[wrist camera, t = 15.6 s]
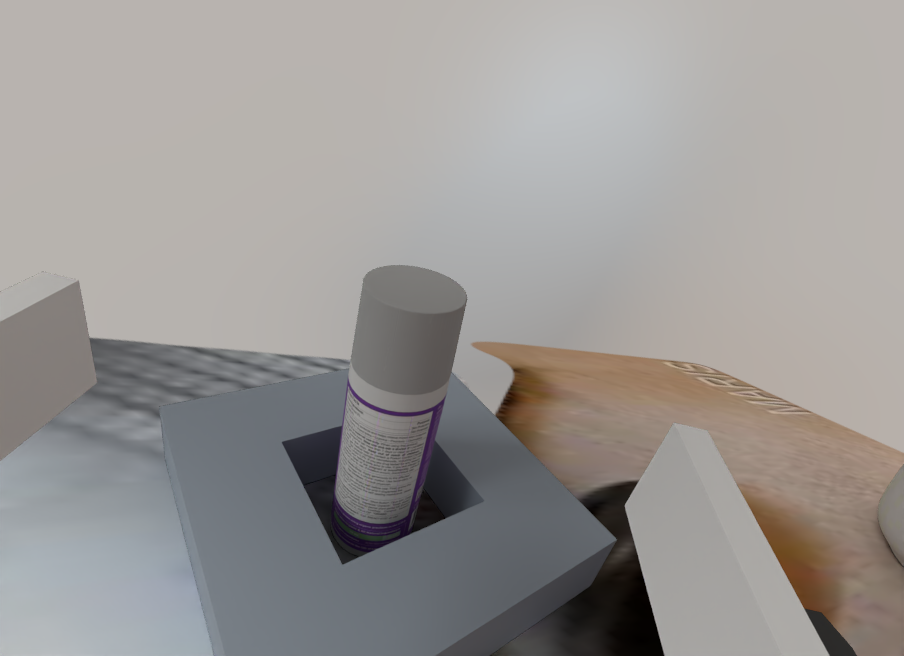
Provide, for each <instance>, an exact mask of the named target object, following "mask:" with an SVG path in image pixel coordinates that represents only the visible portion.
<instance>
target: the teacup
mask: <svg viewBox="0 0 904 656" xmlns="http://www.w3.org/2000/svg"><path fill="white" fill-rule="evenodd" d="M878 521H879V525H880V528H881V530H882V532H883V534H884V536H885V538H886V540H887V541H888V543H889V545H890V547H891V550H892V551H893V553H894V555H895V556H896V558H897V559H898V560H899V562H900V563H901V564H902V566H903V567H904V464H903V466H902V467H901V468H900V470H899V471H898V472H897V474H896V475H895V477H894V478H893V480H892V481H891V483H890V484H889V486H888V487H887V489H886V490H885V492H884V494H883V496H882V498H881V500H880V502H879V506H878Z"/></svg>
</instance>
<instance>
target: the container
mask: <svg viewBox="0 0 904 656" xmlns="http://www.w3.org/2000/svg"><path fill="white" fill-rule="evenodd" d="M466 302H467V295H466V292H465V290H464V289H463V288H462V287H461V286H460V285H459V284H458V283H457V282H455V281H454V280H452V279H451V278H449V277H447V276H445V275H442V274H440V273H438V272H435V271H432V270H429V269H424V268H420V267H414V266H405V265H391V266H384V267H379V268H376V269H373V270H372V271H370V272H368V273H367V274H366V275H365V277H364V279H363V286H362V292H361V299H360V305H359V311H358V317H357V324H356V330H355V336H354V343H353V349H352V355H351V362H350V368H349V374H348V382H347V390H346V398H345V406H344V414H343V422H342V430H341V438H340V447H339V455H338V463H337V471H336V479H335V487H334V495H333V503H332V511H331V530H332V534H333V536H334V538H335V540H336V541H337V542H338V544H339V545H340V546H341V547H342V548H343V549H345V550H346V551H348V552H349V553H351V554H354V555H356V556H359V557H361V556H363V555H365V554H367V553H370V552H372V551H374V550H376V549H379V548H381V547H383V546H385V545H388V544H390V543H392V542H394V541H397V540H399V539H401V538H403V537H405V536H408V535H410V534H411V532H412V528H413V525H414V521H415V517H416V513H417V509H418V505H419V501H420V497H421V493H422V489H423V485H424V481H425V477H426V473H427V469H428V465H429V461H430V458H431V454H432V450H433V446H434V442H435V438H436V434H437V430H438V426H439V422H440V418H441V414H442V410H443V406H444V402H445V398H446V394H447V390H448V385H449V380H450V375H451V371H452V366H453V362H454V357H455V353H456V348H457V343H458V339H459V334H460V330H461V325H462V320H463V316H464V311H465V306H466Z"/></svg>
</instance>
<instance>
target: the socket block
mask: <svg viewBox="0 0 904 656" xmlns="http://www.w3.org/2000/svg"><path fill="white" fill-rule="evenodd" d="M348 374H349V369H344V370H339V371H334V372H329V373H324V374H319V375H314V376H309V377H304V378H299V379H294V380H289V381H284V382H279V383H274V384H269V385H264V386H259V387H254V388H249V389H244V390H239V391H234V392H229V393H224V394H219V395H214V396H209V397H204V398H199V399H194V400H189V401H184V402H179V403H174V404H169V405H163V406H159V409H160V418H161V427H162V436H163V445H164V453H165V461H166V465H167V469H168V473H169V477H170V481H171V485H172V489H173V493H174V497H175V501H176V505H177V509H178V513H179V517H180V521H181V525H182V529H183V533H184V537H185V541H186V545H187V549H188V553H189V557H190V561H191V565H192V569H193V573H194V577H195V580H196V584H197V588H198V592H199V596H200V600H201V604H202V608H203V612H204V616H205V620H206V624H207V628H208V632H209V636H210V640H211V644H212V648H213V652H214V656H490V655H491V654H493V653H494V652H496V651H497V650H498V649H500V648H501V647H503V646H504V645H506V644H507V643H509V642H510V641H511V640H513V639H514V638H516V637H517V636H519V635H520V634H522V633H523V632H524V631H526V630H527V629H529V628H530V627H532V626H533V625H535V624H536V623H537V622H539V621H540V620H542V619H543V618H545V617H546V616H548V615H549V614H550V613H552V612H553V611H555V610H556V609H558V608H559V607H561V606H562V605H563V604H565V603H566V602H568V601H569V600H571V599H572V598H574V597H575V596H576V595H578V594H579V593H581V592H582V591H584V590H585V589H587V588H588V587H590V586H591V584H592V582H593V581H594V579H595V577H596V576H597V574H598V572H599V570H600V569H601V567H602V565H603V563H604V562H605V560H606V558H607V556H608V555H609V553H610V551H611V549H612V548H613V546H614V544H615V542H616V541H617V539H616V538H615V537H614V536H613V535H612V534H611V533H610V532H609V531H608V530H607V529H606V528H605V527H604V526H603V525H602V524H601V523H600V522H599V521H598V520H597V519H596V518H595V517H594V516H593V515H592V514H591V513H590V512H589V511H588V510H587V509H586V508H585V507H584V506H583V505H582V504H581V503H580V502H579V501H578V500H577V498H576V497H575V496H574V495H573V494H572V493H571V492H570V491H569V490H568V489H567V488H566V487H565V486H564V485H563V484H562V483H561V482H560V481H559V480H558V479H557V478H556V477H555V476H554V475H553V474H552V473H551V472H550V471H549V470H548V469H547V468H546V467H545V466H544V465H543V464H542V463H541V462H540V461H539V460H538V459H537V458H536V457H535V456H534V455H533V454H532V453H531V452H530V451H529V450H528V449H527V448H526V447H525V446H524V445H523V444H522V443H521V442H520V441H519V440H518V439H517V438H516V437H515V436H514V435H513V434H512V433H511V432H510V431H509V430H508V429H507V428H506V427H505V426H504V424H503V423H502V422H501V421H500V420H499V419H498V418H497V417H496V416H495V415H494V414H493V413H492V412H491V411H490V410H489V409H488V408H487V407H486V406H485V405H484V404H483V403H482V402H481V401H480V400H479V399H478V398H477V397H476V396H475V395H474V394H473V393H472V392H471V391H470V390H469V389H468V388H467V387H466V386H465V385H464V384H463V383H462V382H461V381H460V380H459V379H458V378H457V377H456V376H455V375H454V374H453V373H452V372H451V375H450V380H449V385H448V390H447V394H446V398H445V402H444V406H443V410H442V414H441V418H440V422H439V426H438V430H437V434H436V438H435V442H434V446H433V450H432V454H431V458H430V461H429V465H428V469H427V473H426V477H425V481H424V485H423V487H424V489H425V490H426V492H427V493H428V494H429V496H430V497H431V499H432V500H433V501H434V503H435V504H436V505H437V507H438V508H439V510H440V511H441V512H442V514H443V515H444V517H445V518H446V519H444V520H441V521H439V522H437V523H435V524H432V525H430V526H428V527H426V528H423V529H421V530H419V531H417V532H414V533H412V534H410V535H408V536H405V537H403V538H401V539H399V540H397V541H394V542H392V543H390V544H388V545H385V546H383V547H381V548H379V549H376V550H374V551H372V552H370V553H367V554H365V555H363V556H361V557H358V558H356V559H354V560H352V561H350V562H347V563H345V564H343V565H342V563H341V561H340V559H339V557H338V555H337V553H336V551H335V549H334V547H333V545H332V543H331V541H330V539H329V537H328V535H327V533H326V531H325V529H324V527H323V525H322V523H321V521H320V519H319V517H318V515H317V513H316V511H315V509H314V507H313V505H312V503H311V501H310V499H309V496H308V494H307V492H306V490H305V488H304V486H303V485H305V484H308V483H311V482H314V481H317V480H320V479H323V478H326V477H329V476H332V475H335V474H336V471H337V463H338V455H339V447H340V438H341V430H342V422H343V414H344V406H345V398H346V390H347V382H348Z"/></svg>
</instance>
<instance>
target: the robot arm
mask: <svg viewBox="0 0 904 656" xmlns="http://www.w3.org/2000/svg"><path fill="white" fill-rule="evenodd" d="M96 383H97V378H96V372H95V367H94V361H93V356H92V350H91V345H90V339H89V334H88V328H87V323H86V318H85V312H84V307H83V301H82V296H81V290H80V285H79V281H78V280H76V279H72V278H67V277H63V276H59V275H55V274H51V273H47V272H41V273H38V274H36V275H34V276H32V277H30V278H28V279H26V280H24V281H22V282H19V283H17V284H15V285H13V286H11V287H9V288H7V289H5V290H2V291H0V461H1V460H2V459H3V458H5V457H6V456H7V455H8V454H10V453H11V452H12V451H13V450H14V449H16V448H17V447H18V446H19V445H21V444H22V443H23V442H24V441H26V440H27V439H28V438H29V437H31V436H32V435H33V434H34V433H36V432H37V431H38V430H39V429H41V428H42V427H43V426H44V425H45V424H47V423H48V422H49V421H50V420H52V419H53V418H54V417H55V416H57V415H58V414H59V413H60V412H62V411H63V410H64V409H65V408H67V407H68V406H69V405H70V404H71V403H73V402H74V401H75V400H76V399H78V398H79V397H80V396H81V395H83V394H84V393H85V392H86V391H88V390H89V389H90V388H91V387H93V386H94V385H95V384H96ZM625 509H626V513H627V517H628V520H629V524H630V528H631V532H632V535H633V539H634V543H635V547H636V550H637V554H638V558H639V562H640V565H641V569H642V573H643V577H644V580H645V584H646V588H647V591H648V595H649V599H650V603H651V606H652V610H653V614H654V618H655V621H656V625H657V629H658V633H659V636H660V640H661V644H662V648H663V651H664V655H665V656H857V655H856V654H855V652H854V650H853V648H852V647H851V646H850V645H849V644H848V643H847V641H846V640H845V639H844V638H843V637H842V636H841V635H840V633H839V632H838V631H837V630H836V629H835V628H834V627H833V625H832V624H831V623H830V622H829V621H828V620H827V619H826V617H825V616H824V615H823V614H822V613H821V612H817V611H812V610H808V609H804V608H803V606H802V604H801V602H800V600H799V598H798V597H797V595H796V593H795V591H794V589H793V587H792V586H791V584H790V582H789V580H788V578H787V576H786V574H785V573H784V571H783V569H782V567H781V565H780V563H779V562H778V560H777V558H776V556H775V554H774V552H773V550H772V549H771V547H770V545H769V543H768V541H767V539H766V538H765V536H764V534H763V532H762V530H761V528H760V526H759V525H758V523H757V521H756V519H755V517H754V515H753V514H752V512H751V510H750V508H749V506H748V504H747V502H746V501H745V499H744V497H743V495H742V493H741V491H740V490H739V488H738V486H737V484H736V482H735V480H734V479H733V477H732V475H731V473H730V471H729V469H728V467H727V466H726V464H725V462H724V460H723V458H722V456H721V455H720V453H719V451H718V449H717V447H716V445H715V443H714V442H713V440H712V438H711V436H710V434H709V432H708V431H707V430H703V429H699V428H695V427H691V426H687V425H683V424H678V423H673V425H672V427H671V428H670V430H669V432H668V433H667V435H666V437H665V438H664V440H663V442H662V443H661V445H660V447H659V448H658V450H657V452H656V454H655V455H654V457H653V459H652V460H651V462H650V464H649V465H648V467H647V469H646V470H645V472H644V474H643V475H642V477H641V479H640V480H639V482H638V484H637V485H636V487H635V489H634V490H633V492H632V494H631V496H630V497H629V499H628V501H627V502H626V504H625Z"/></svg>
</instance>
